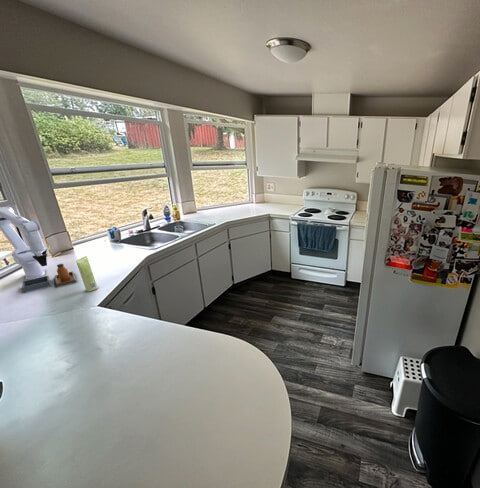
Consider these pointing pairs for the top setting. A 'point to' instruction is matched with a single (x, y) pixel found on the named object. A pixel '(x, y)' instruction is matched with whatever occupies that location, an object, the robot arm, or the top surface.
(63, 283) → the tray
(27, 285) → the bin
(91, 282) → the tube
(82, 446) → the top surface
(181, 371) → the top surface
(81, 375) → the top surface
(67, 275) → the bottle
